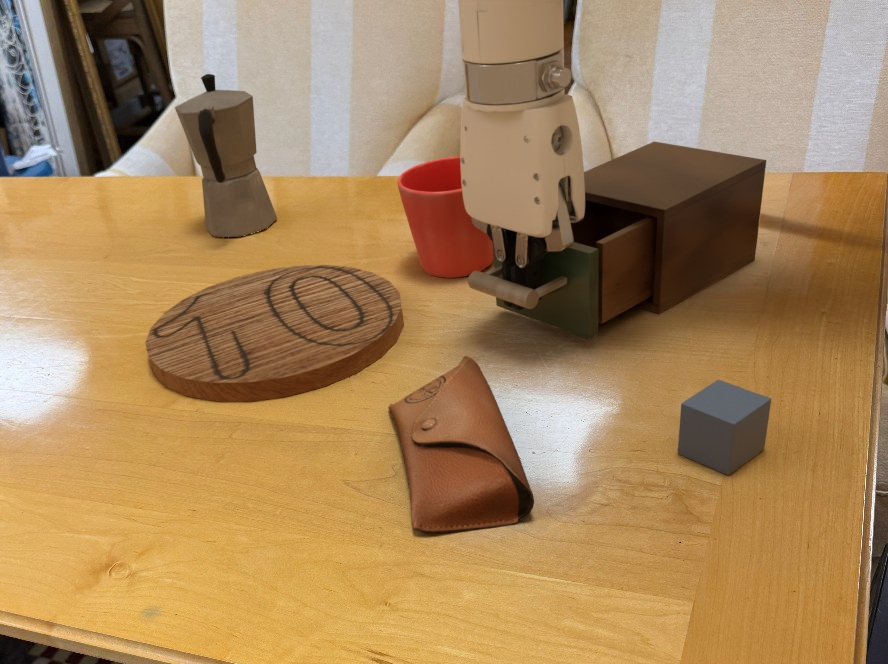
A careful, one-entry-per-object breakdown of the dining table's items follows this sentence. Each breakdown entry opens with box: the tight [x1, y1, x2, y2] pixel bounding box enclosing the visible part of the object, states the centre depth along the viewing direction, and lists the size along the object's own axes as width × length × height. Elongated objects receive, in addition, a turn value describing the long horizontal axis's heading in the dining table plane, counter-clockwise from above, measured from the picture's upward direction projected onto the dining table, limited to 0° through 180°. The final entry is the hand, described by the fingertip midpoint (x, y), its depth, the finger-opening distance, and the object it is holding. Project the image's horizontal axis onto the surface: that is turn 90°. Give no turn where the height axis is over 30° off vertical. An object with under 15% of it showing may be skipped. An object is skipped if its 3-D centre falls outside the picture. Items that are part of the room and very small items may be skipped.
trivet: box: [144, 264, 405, 403], centre depth 88 cm, size 25×25×2 cm
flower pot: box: [397, 155, 494, 279], centre depth 95 cm, size 11×11×10 cm
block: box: [677, 379, 772, 476], centre depth 63 cm, size 4×4×4 cm
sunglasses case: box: [387, 355, 535, 534], centre depth 67 cm, size 18×7×7 cm
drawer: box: [467, 200, 658, 340], centre depth 82 cm, size 19×11×8 cm, turn 129°
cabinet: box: [584, 141, 767, 315], centre depth 87 cm, size 15×13×10 cm
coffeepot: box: [174, 73, 278, 239], centre depth 110 cm, size 15×9×18 cm, turn 1°
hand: (523, 302), depth 80 cm, fingers closed
